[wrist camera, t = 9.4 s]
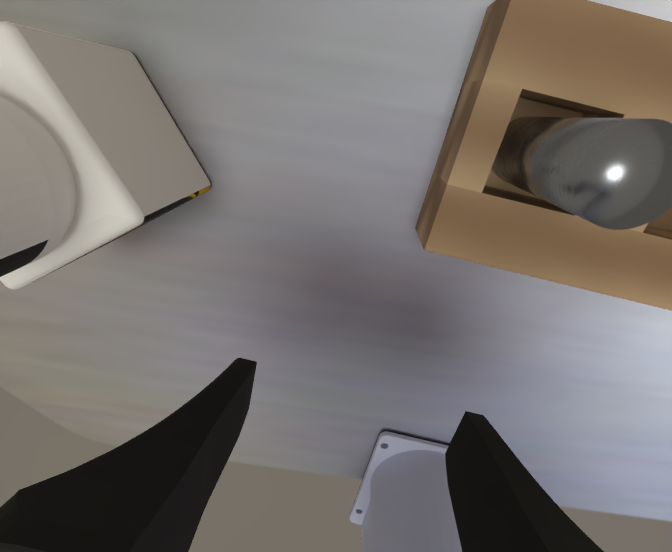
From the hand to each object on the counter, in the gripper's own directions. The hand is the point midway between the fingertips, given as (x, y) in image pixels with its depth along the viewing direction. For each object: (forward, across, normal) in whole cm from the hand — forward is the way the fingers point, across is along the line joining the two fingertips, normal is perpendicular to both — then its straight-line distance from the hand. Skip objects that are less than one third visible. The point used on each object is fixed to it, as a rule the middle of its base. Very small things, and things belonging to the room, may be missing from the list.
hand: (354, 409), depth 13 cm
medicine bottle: (+10, +14, -4) cm, 18 cm away
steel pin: (+9, -6, -9) cm, 14 cm away
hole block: (+10, -9, -9) cm, 16 cm away
